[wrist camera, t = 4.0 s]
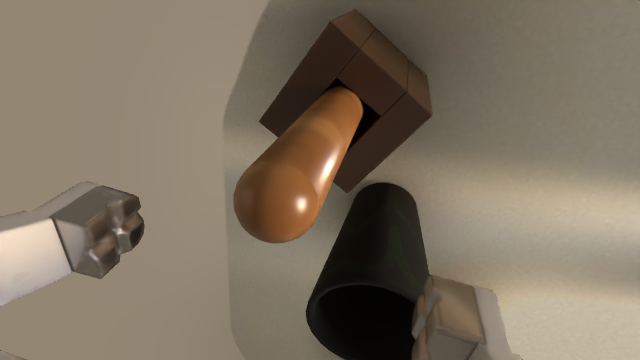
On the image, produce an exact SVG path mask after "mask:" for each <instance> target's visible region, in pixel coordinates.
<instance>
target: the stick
mask: <svg viewBox="0 0 640 360" xmlns="http://www.w3.org/2000/svg"><path fill="white" fill-rule="evenodd" d="M366 107H367V104H366V103H365V102H364V101H363V100H362V99H361V98H359V97H358V96H357V95H356V94H355V93H354V92H353V91H351V90H350V89H349V88H348V87H347V86H346V85H345V84H343V83H342V82H341V81H340V80H339V79H337V80H336V81H335V82H334V83H333V84H332V85H331V86H330V87H329V88H328V89H327V90H326V91H325V92H324V93H323V94H322V95H321V96H320V97H319V98H318V99H317V100H316V101H315V102H314V103H313V104H312V105H311V106H310V107H309V108H308V109H307V110H306V111H305V112H304V113H303V114H302V115H301V116H300V117H299V118H298V119H297V120H296V121H295V122H294V123H293V124H292V125H291V126H290V127H289V128H288V129H287V130H286V131H285V132H284V133H283V134H282V135H281V136H280V137H279V138H278V139H277V140H276V141H275V142H274V143H273V144H272V145H271V146H270V147H269V148H268V149H267V150H266V151H265V152H264V153H263V154H262V155H261V156H260V157H259V158H258V159H257V160H256V161H255V162H254V163H253V164H252V165H251V166H250V167H249V168H248V169H247V170H246V171H245V172H244V173H243V174H242V176H241V177H240V179H239V181H238V182H237V185H236V189H235V192H234V210H235V213H236V216H237V218H238V220H239V222H240V224H241V226H242V227H243V228H244V229H245V230H246V231H247V232H248V233H249V234H250V235H252V236H253V237H255V238H256V239H259V240H261V241H264V242H268V243H285V242H289V241H292V240H294V239H297V238H299V237H300V236H301V235H303V234H304V233H305V232H306V231H308V229H309V228H310V227H311V226H312V224H313V223H314V221H315V220H316V218H317V215H318V213H319V211H320V209H321V206H322V204H323V202H324V200H325V198H326V195H327V193H328V191H329V189H330V187H331V184H332V182H333V180H334V178H335V175H336V173H337V171H338V169H339V167H340V164H341V162H342V160H343V158H344V155H345V153H346V151H347V149H348V147H349V144H350V142H351V140H352V138H353V136H354V133H355V131H356V129H357V127H358V124H359V122H360V120H361V118H362V116H363V113H364V111H365V109H366Z"/></svg>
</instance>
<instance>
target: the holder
mask: <svg viewBox="0 0 640 360" xmlns="http://www.w3.org/2000/svg"><path fill="white" fill-rule="evenodd" d="M336 77H337V78H338V79H339V80H340V81H341V82H342V83H343V84H345V85H346V86H347V87H348V88H349V89H350V90H351V91H353V92H354V93H355V94H356V95H357V96H358V97H359V98H361V99H362V100H363V101H364V102H365V103H366V104H367V107H366V109H365V111H364V113H363V116H362V118H361V120H360V122H359V124H358V127H357V129H356V131H355V133H354V136H353V138H352V140H351V142H350V144H349V147H348V149H347V151H346V153H345V155H344V158H343V160H342V162H341V164H340V167H339V169H338V171H337V173H336V175H335V178H334V180H333V182H334V183H335V184H337V185H338V186H339V187H340V188H341V189H343V190H344V191H345V192H346V193H348V192H349V191H351V190H352V189H353V188H354V187H355V186H356V185H357V184H358V183H359V182H360V181H361V180H363V179H364V178H365V177H366V176H367V175H368V174H369V173H370V172H371V171H372V170H373V169H375V168H376V167H377V166H378V165H379V164H380V163H381V162H382V161H383V160H384V159H386V158H387V157H388V156H389V155H390V154H391V153H392V152H393V151H394V150H395V149H396V148H398V147H399V146H400V145H401V144H402V143H403V142H404V141H405V140H406V139H407V138H409V137H410V136H411V135H412V134H413V133H414V132H415V131H416V130H417V129H418V128H419V127H421V126H422V125H423V124H424V123H425V122H426V121H427V120H428V119H429V118H430V117H431V116H432V115H433V112H432V105H431V99H430V92H429V86H428V79H427V75H425V74H424V73H423V72H422V71H421V70H420V69H419V68H418V67H417V66H416V65H415V64H414V63H413V62H412V61H410V60H409V59H408V58H407V57H406V56H405V55H404V54H403V53H402V52H401V51H400V50H399V49H398V48H397V47H396V46H394V45H393V44H392V43H391V42H390V41H389V40H388V39H387V38H386V37H385V36H384V35H383V34H382V33H381V32H379V31H378V30H377V29H375V27H374V26H373V25H372V24H371V23H370V22H369V21H368V20H367V19H366V18H364V17H363V16H362V15H361V14H360V13H359V12H358V11H357V10H356V9H355V10H353V11H351V12H349V13H347V14H345V15H343V16H341V17H339V18H337V19H335V20H332V21H330V23H329V24H328V25H327V27H326V28H325V30H324V31H323V32H322V34H321V35H320V37H319V38H318V39H317V41H316V42H315V44H314V45H313V46H312V48H311V49H310V51H309V52H308V53H307V55H306V56H305V58H304V59H303V60H302V62H301V63H300V65H299V66H298V67H297V69H296V70H295V71H294V73H293V74H292V76H291V77H290V78H289V80H288V81H287V83H286V84H285V85H284V87H283V88H282V90H281V91H280V92H279V94H278V95H277V97H276V98H275V99H274V101H273V102H272V104H271V105H270V106H269V108H268V109H267V111H266V112H265V113H264V115H263V116H262V118H261V119H260V120H259V122H260V123H261V124H262V125H264V126H265V127H266V128H267V129H268V130H270V131H271V132H272V133H273V134H275V135H276V136H277V137H278V138H279V137H280V136H281V135H282V134H283V133H284V132H285V131H286V130H287V129H288V128H289V127H290V126H291V125H292V124H293V123H294V122H295V121H296V120H297V119H298V118H299V117H300V116H301V115H302V114H303V113H304V112H305V111H306V110H307V109H308V108H309V107H310V106H311V105H312V104H313V103H314V102H315V101H316V100H317V99H318V98H319V97H320V96H321V95H322V94H323V93H324V92H325V91H326V90H327V89H328V88H329V87H330V86H331V85H332V82H333V81H334V79H335V78H336Z"/></svg>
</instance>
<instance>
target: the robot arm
mask: <svg viewBox="0 0 640 360" xmlns="http://www.w3.org/2000/svg"><path fill="white" fill-rule="evenodd" d="M140 208H141V205H140V201H139V198H138V197H137V196H135V195H133V194H129V193H127V192H123V191H120V190H116V189H113V188H110V187H106V186H102V185H98V184H95V183H92V182H80V183H78V184H77V185H75V186H73V187H72V188H70V189H68V190H67V191H65V192H63V193H61V194H60V195H58V196H56V197H55V198H53V199H51V200H50V201H48V202H46V203H44V204H43V205H41V206H39V207H38V208H36V209H34V210H33V211H31V212H26V211H22V212H18V213H14V214H10V215H6V216H1V217H0V306H3V305H5V304H7V303H9V302H11V301H13V300H15V299H18V298H20V297H22V296H24V295H26V294H28V293H30V292H32V291H35V290H37V289H39V288H41V287H43V286H45V285H48V284H50V283H52V282H54V281H56V280H58V279H60V278H62V277H64V276H67V275H69V274H71V273H72V271H74V272H77V273H80V274H84V275H88V276H92V277H95V278H99V279H101V278H103V277H104V276H105V275H106V274H107V273H108V272H109V271H110V270H111V269H112V268H113V267H114V266H115V265H116V264H118V263H119V261H120V255H121V254H123V253H126V252H129V251H131V250H132V249H133V248H134V247H135V246H136V245H137V244H138V243H139V241H140V240H141V238H142V236H143V233H144V220H143V218H142V217H141V216H140V215H139V213H138V210H139V209H140ZM412 335H413V336H414V338H415V339H416V341H415V343H414V345H413V347H412V350H411V355H412V360H523V359H522V358H521V357H520V356H519V355H517V354H514V353H512V351H511V347H510V344H509V340H508V337H507V333H506V329H505V326H504V322H503V319H502V315H501V312H500V308H499V304H498V301H497V297H496V294H495V293H494V292H493V290H489V289H485V288H481V287H477V286H473V285H468V284H465V283H461V282H457V281H453V280H449V279H445V278H442V277H438V276H434V275H429V276H428V277H427V279H426V281H425V283H424V294H422V295H420V296H418V299H417V301H416V304H415V307H414V311H413V316H412ZM0 360H26V359H23V358H21V357H18V356H15V355H12V354H10V353H7V352H4V351H1V350H0Z"/></svg>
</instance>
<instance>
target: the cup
mask: <svg viewBox="0 0 640 360" xmlns="http://www.w3.org/2000/svg"><path fill="white" fill-rule="evenodd" d="M428 276H429V271H428V265H427V260H426V255H425V249H424V244H423V238H422V233H421V228H420V222H419V217H418V211H417V206H416V202H415V201H414V199H413V197H412V196H411V195H410V194H409V192H408V191H406V190H405V189H403V188H402V187H400V186H397V185H394V184H390V183H376V184H372V185H369V186H367V187H365V188H363V189H362V190H361V191H360V192H359V193H358V194H357V196H356V197H355V199H354V201H353V203H352V205H351V208H350V210H349V212H348V214H347V217H346V219H345V221H344V223H343V225H342V228H341V230H340V232H339V234H338V237H337V239H336V241H335V243H334V245H333V248H332V250H331V252H330V254H329V257H328V259H327V261H326V263H325V265H324V268H323V270H322V272H321V274H320V277H319V279H318V281H317V283H316V285H315V288H314V290H313V292H312V294H311V297H310V299H309V301H308V304H307V308H306V318H307V323H308V325H309V327H310V329H311V332H312V333H313V334H314V336H315V337H316V338H317V339H318V341H319V342H320V343H321V344H322V345H323V346H325V347H326V348H327V349H328V350H329V351H331V352H333V353H334V354H336V355H338V356H339V357H341V358H343V359H345V360H412V355H411V350H412V347H413V345H414V343H415V341H416V339H415V338H414V336H413V335H412V316H413V311H414V307H415V304H416V301H417V299H418V296H420V295H422V294H424V283H425V281H426V279H427V277H428Z"/></svg>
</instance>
